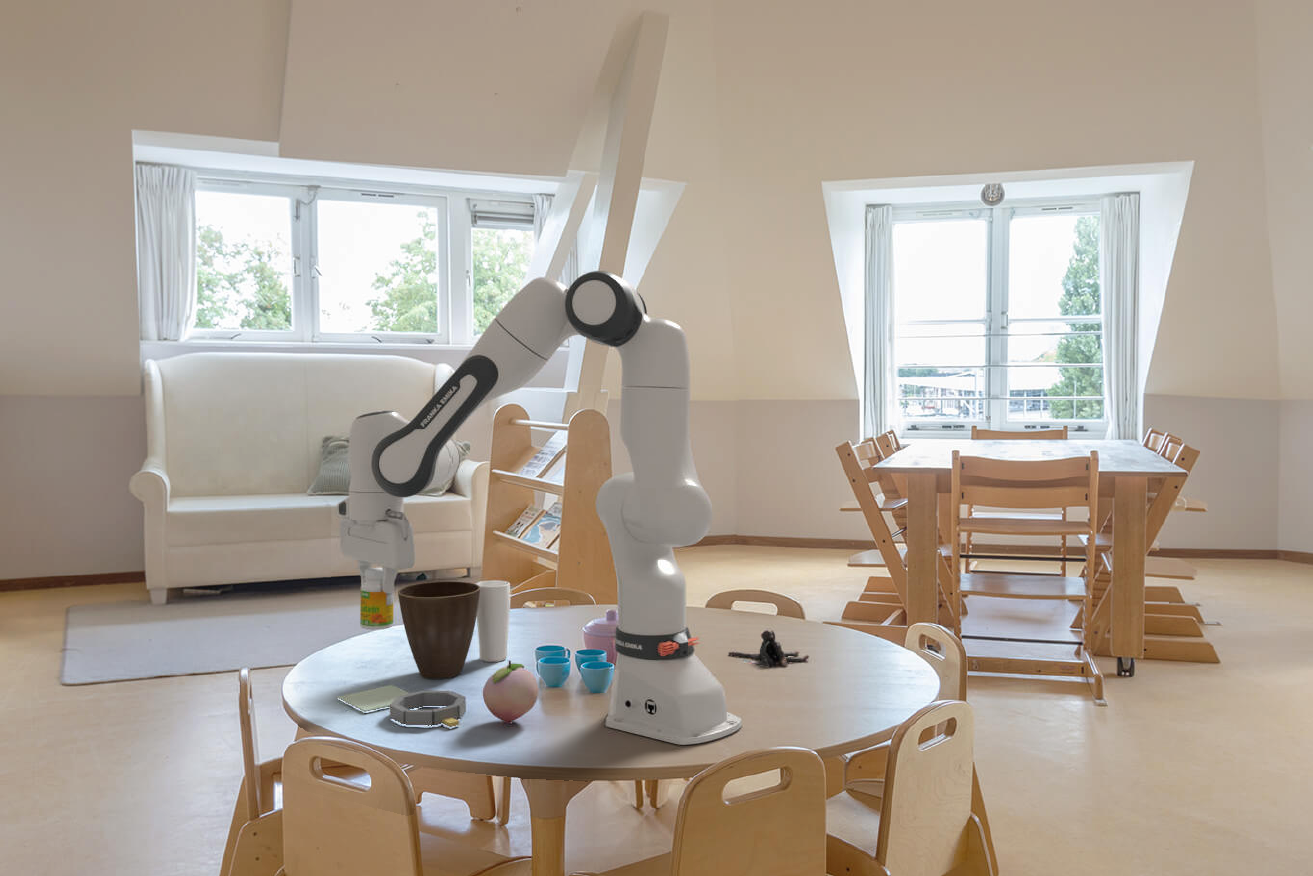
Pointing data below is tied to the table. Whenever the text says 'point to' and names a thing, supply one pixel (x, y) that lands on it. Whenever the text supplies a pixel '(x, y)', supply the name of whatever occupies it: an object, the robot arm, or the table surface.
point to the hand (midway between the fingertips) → (377, 589)
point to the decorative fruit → (510, 692)
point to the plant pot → (439, 625)
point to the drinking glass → (493, 620)
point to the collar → (429, 717)
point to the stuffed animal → (770, 653)
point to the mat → (373, 698)
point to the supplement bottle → (375, 602)
